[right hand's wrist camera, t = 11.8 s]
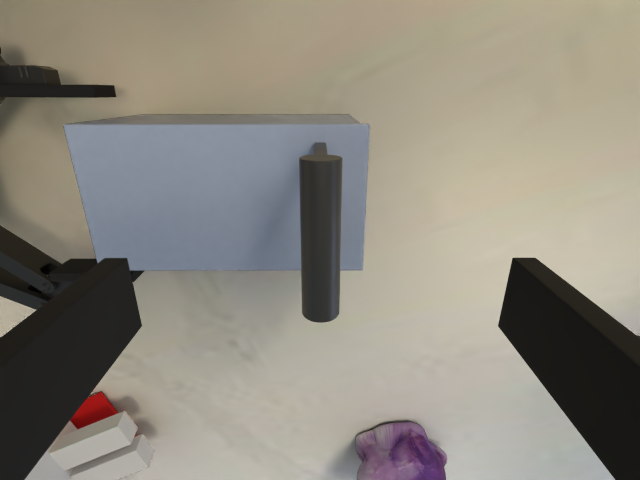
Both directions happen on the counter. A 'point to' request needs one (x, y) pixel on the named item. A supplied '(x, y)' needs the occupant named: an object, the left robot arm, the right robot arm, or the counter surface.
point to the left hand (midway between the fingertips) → (125, 188)
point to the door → (228, 198)
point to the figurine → (399, 454)
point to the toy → (95, 446)
